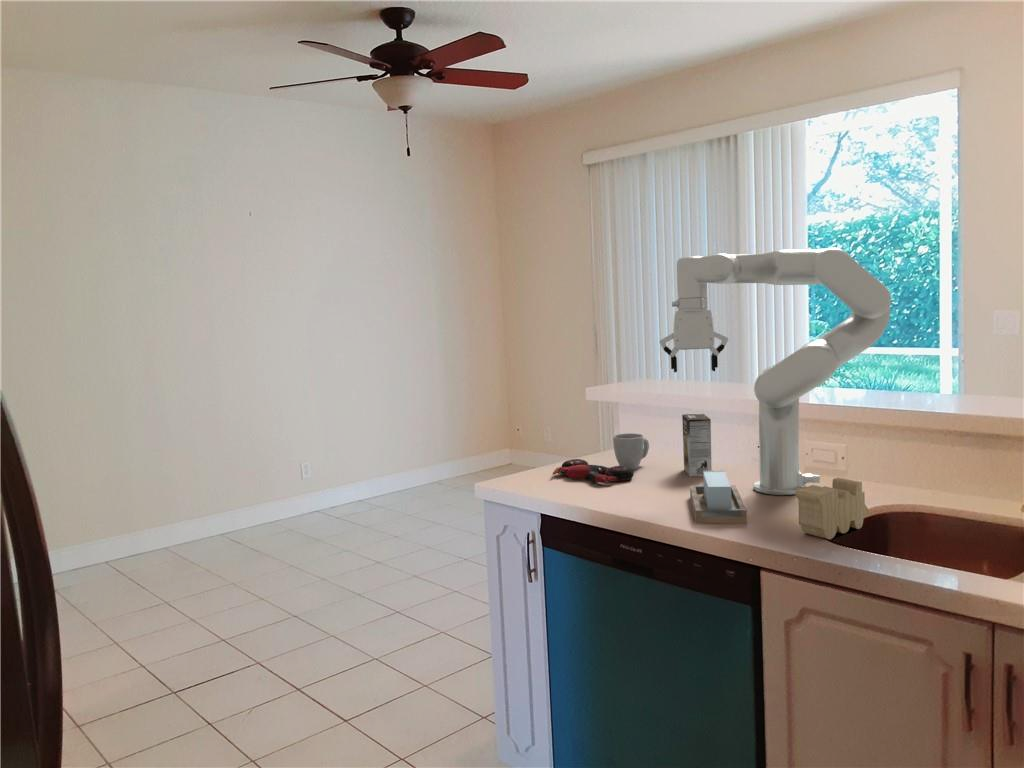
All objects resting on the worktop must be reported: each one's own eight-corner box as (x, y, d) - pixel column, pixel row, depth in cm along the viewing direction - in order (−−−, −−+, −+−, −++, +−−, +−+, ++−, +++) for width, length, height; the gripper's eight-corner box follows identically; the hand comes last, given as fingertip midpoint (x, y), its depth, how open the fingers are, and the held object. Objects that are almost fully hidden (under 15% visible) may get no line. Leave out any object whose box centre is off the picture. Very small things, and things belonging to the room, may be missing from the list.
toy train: (868, 526, 165) (868, 479, 164) (819, 543, 156) (818, 494, 155) (845, 520, 170) (844, 475, 169) (795, 537, 161) (794, 489, 160)
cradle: (690, 497, 195) (690, 485, 195) (735, 497, 193) (735, 485, 193) (696, 523, 173) (695, 510, 173) (747, 523, 171) (746, 510, 171)
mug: (627, 472, 225) (626, 439, 224) (608, 468, 232) (607, 436, 231) (658, 466, 232) (657, 434, 230) (638, 461, 239) (637, 430, 238)
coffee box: (683, 469, 226) (681, 414, 224) (705, 468, 225) (704, 413, 224) (689, 476, 217) (687, 419, 215) (712, 475, 216) (711, 418, 215)
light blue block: (731, 512, 175) (731, 486, 174) (708, 513, 175) (708, 486, 175) (724, 494, 190) (724, 470, 190) (703, 494, 191) (703, 470, 190)
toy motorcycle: (575, 472, 236) (536, 473, 226) (576, 455, 236) (537, 455, 226) (639, 486, 217) (599, 488, 207) (640, 468, 217) (601, 469, 207)
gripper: (658, 307, 199) (660, 373, 201) (728, 303, 196) (730, 371, 198) (658, 306, 207) (660, 371, 208) (725, 303, 204) (727, 368, 205)
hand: (694, 371), depth 203 cm, fingers open, 9 cm apart
